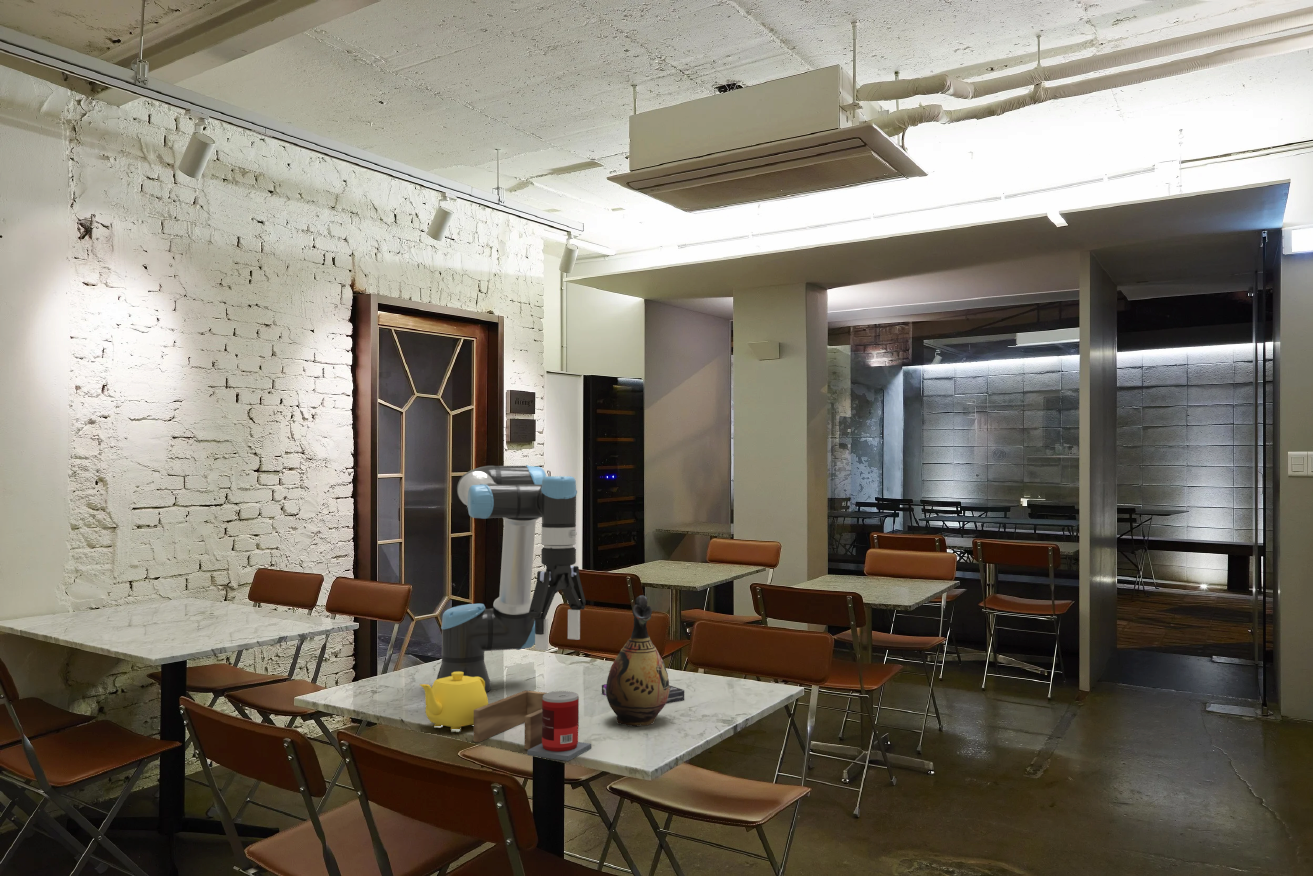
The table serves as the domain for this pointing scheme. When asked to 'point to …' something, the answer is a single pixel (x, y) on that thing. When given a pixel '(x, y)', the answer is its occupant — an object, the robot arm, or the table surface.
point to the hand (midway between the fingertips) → (558, 644)
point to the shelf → (512, 717)
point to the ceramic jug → (638, 675)
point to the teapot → (454, 700)
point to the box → (673, 696)
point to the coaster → (562, 755)
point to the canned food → (560, 721)
